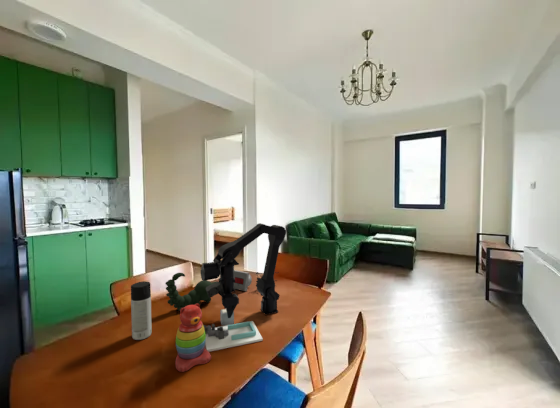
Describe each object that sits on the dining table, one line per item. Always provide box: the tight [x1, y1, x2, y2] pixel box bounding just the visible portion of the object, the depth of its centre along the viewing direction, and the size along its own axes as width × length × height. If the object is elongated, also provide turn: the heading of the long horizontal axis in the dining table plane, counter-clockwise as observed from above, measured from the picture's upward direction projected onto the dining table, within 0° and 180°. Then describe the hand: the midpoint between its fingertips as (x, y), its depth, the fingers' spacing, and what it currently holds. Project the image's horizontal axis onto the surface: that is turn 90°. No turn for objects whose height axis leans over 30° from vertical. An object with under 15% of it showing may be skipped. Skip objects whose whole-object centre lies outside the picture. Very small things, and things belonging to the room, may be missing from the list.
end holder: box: [228, 320, 256, 340], centre depth 102 cm, size 9×9×2 cm
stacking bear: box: [175, 303, 212, 373], centre depth 87 cm, size 11×10×18 cm
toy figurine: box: [165, 272, 219, 312], centre depth 126 cm, size 9×19×25 cm
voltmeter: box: [234, 269, 279, 292], centre depth 150 cm, size 27×11×10 cm, turn 97°
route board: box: [203, 320, 264, 353], centre depth 101 cm, size 20×14×3 cm
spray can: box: [130, 281, 152, 341], centre depth 100 cm, size 7×7×20 cm
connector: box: [219, 308, 235, 326], centre depth 111 cm, size 5×4×5 cm
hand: (227, 313), depth 111 cm, fingers open, 9 cm apart
